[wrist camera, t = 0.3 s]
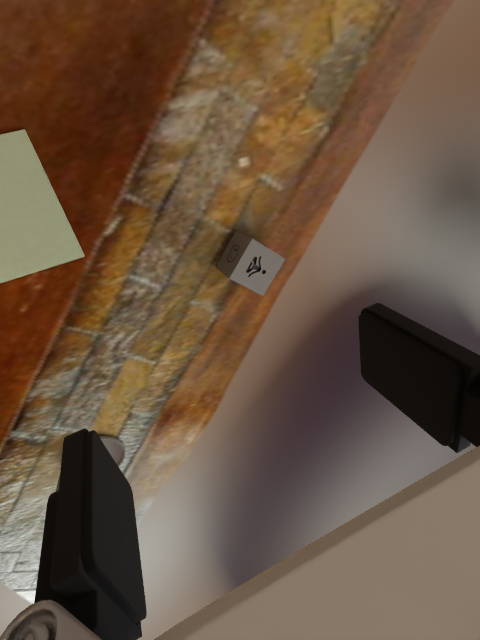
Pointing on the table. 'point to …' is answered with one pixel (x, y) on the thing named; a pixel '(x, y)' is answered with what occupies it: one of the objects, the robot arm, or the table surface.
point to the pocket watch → (111, 450)
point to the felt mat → (30, 213)
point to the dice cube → (249, 263)
